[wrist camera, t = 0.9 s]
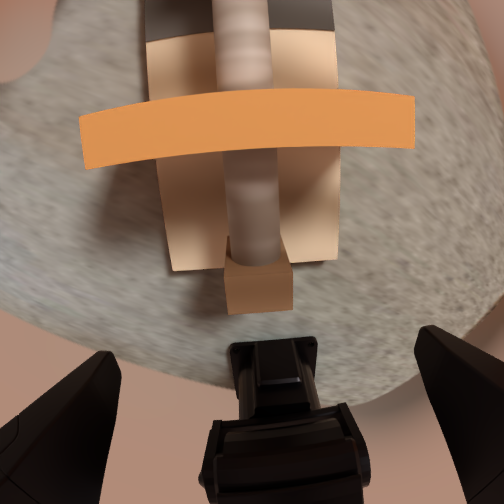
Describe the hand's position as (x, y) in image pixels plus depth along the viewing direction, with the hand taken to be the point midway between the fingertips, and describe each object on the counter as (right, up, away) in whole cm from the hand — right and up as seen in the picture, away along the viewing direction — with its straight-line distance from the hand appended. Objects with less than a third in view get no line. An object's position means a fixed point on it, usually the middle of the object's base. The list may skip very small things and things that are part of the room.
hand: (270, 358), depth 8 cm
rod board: (-1, +12, +8) cm, 14 cm away
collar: (-1, +10, +7) cm, 12 cm away
